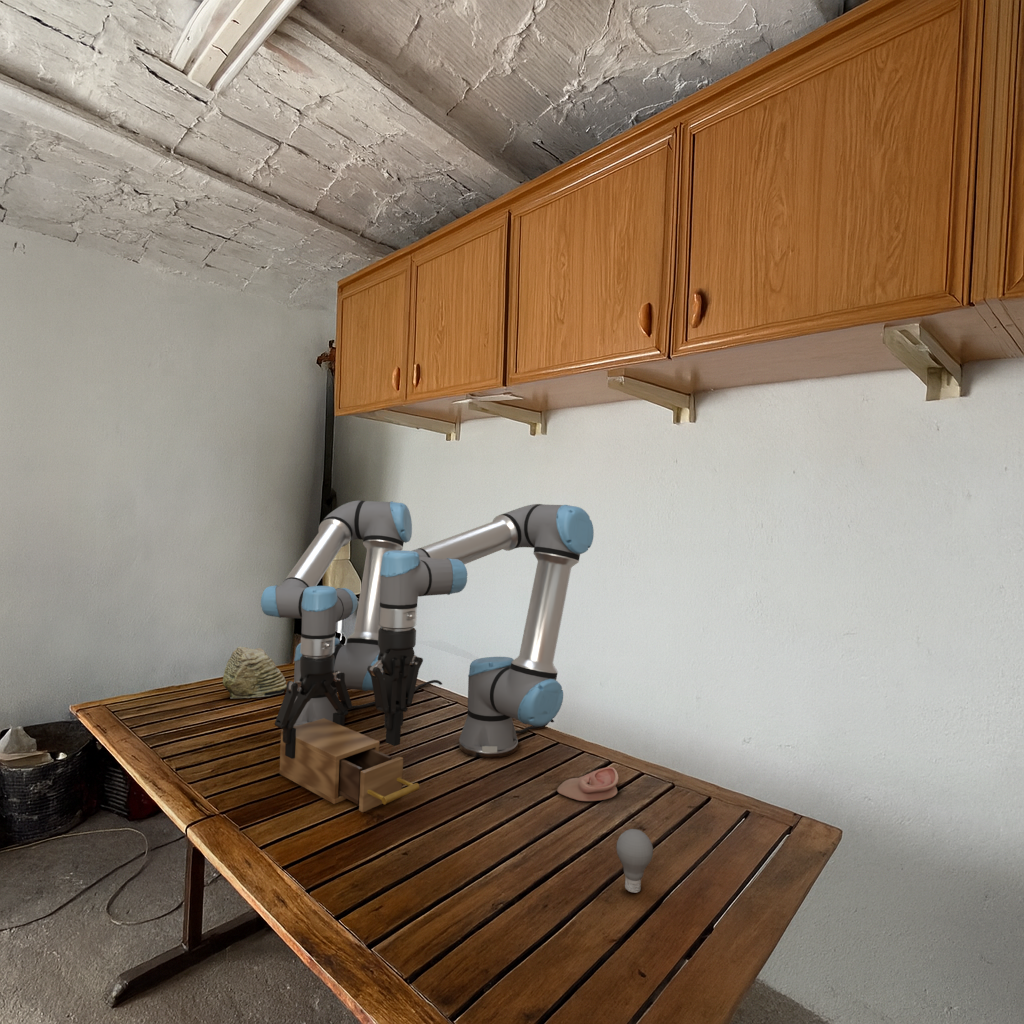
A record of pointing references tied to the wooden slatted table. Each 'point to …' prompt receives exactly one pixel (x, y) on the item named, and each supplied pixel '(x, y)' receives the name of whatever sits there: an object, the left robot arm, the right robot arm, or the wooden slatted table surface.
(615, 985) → the wooden slatted table surface
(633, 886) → the light bulb
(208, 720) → the wooden slatted table surface
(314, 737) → the cabinet
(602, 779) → the anatomical model
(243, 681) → the fossil
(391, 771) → the drawer
